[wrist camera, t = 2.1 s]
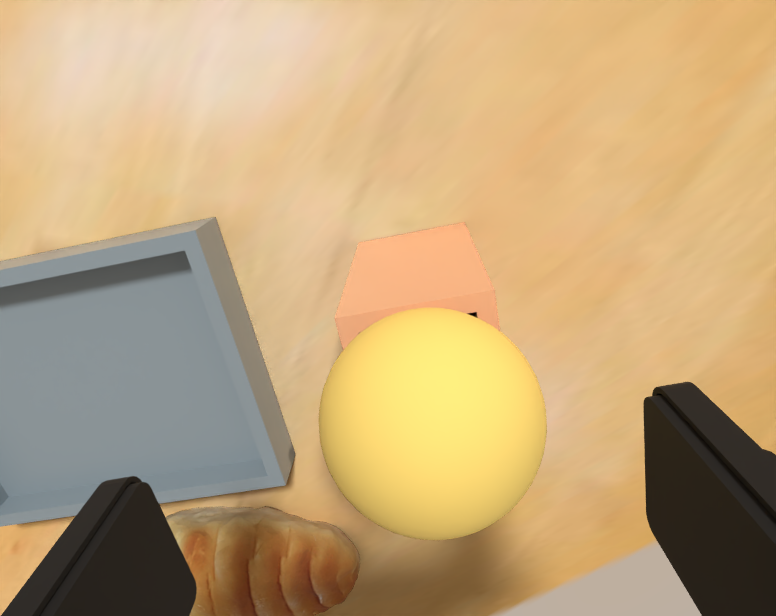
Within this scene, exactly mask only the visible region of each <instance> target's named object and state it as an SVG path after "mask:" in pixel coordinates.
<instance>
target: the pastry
mask: <svg viewBox="0 0 776 616" xmlns="http://www.w3.org/2000/svg"><path fill="white" fill-rule="evenodd" d="M166 520H167V522H168V524H169V526H170V528H171V530H172V532H173V535H174V537H175V539H176V541H177V543H178V545H179V547H180V549H181V551H182V553H183V555H184V558H185V560H186V562H187V564H188V566H189V568H190V570H191V572H192V574H193V576H194V578H195V581H196V586H197V594H196V599H195V603H194V605H193V608H192V610H191V613H190V616H313V615H316V614H317V613H320V612H325V611H326V610H328V609H329V608H331V607H332V606H334V605H336V604H340V603H342V602H343V601H344V600H345V599H346V597H347V596H348V594H349V593H350V592H351V590H352V589H353V587H354V584H355V581H356V580H357V578H358V572H359V568H360V557H359V553H358V551H357V549H356V547H355V546H354V545H353V543H352V542H351V541H350V540H349V539H348V537H347V536H346V535H345V534H344V533H343V532H342V531H341V530H340V529H338V528H337V527H335V526H333V525H330V524H328V523H326V522H320V521H310V520H306V519H303V518H300V517H298V516H295V515H290V514H287V513H284V512H282V511H280V510H278V509H275V508H271V507H262V508H260V509H253V508H246V507H245V508H232V507H204V508H199V507H198V508H192V509H188V510H182V511H179V512H177V513H174V514H171V515H169V516H167V517H166Z"/></svg>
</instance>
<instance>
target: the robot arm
mask: <svg viewBox="0 0 776 616" xmlns="http://www.w3.org/2000/svg"><path fill="white" fill-rule="evenodd" d="M644 441H645V482H646V514H647V519H648V522H649V526H650V528H651V530H652V532H653V534H654V536H655V538H656V539H657V541H658V543H659V544H660V546H661V548H662V549H663V551H664V553H665V554H666V556H667V558H668V559H669V561H670V563H671V565H672V566H673V568H674V569H675V571H676V573H677V575H678V576H679V578H680V580H681V581H682V583H683V584H684V586H685V588H686V589H687V591H688V593H689V595H690V596H691V598H692V599H693V601H694V603H695V604H696V606H697V608H698V610H699V611H700V613H701V614H702V616H776V455H775V454H773V453H772V452H770V451H767V450H764V449H762V448H761V447H760V446H759V445H757V444H756V443H755V442H754V441H753V440H752V439H751V438H750V437H749V436H748V435H747V434H746V433H745V432H744V431H743V430H742V429H741V428H740V427H739V426H737V425H736V424H735V423H734V422H733V421H732V420H731V419H730V418H729V417H728V416H727V415H726V414H725V413H724V412H723V411H722V410H721V409H720V408H719V407H717V406H716V405H715V404H714V403H713V402H712V401H711V400H710V399H709V398H708V397H707V396H706V395H705V394H704V393H703V392H702V391H701V390H700V389H699V388H697V387H696V386H695V385H694V384H693V383H691V382H684V383H678V384H672V385H666V386H660V387H656V388H655V389H654V390H653V394H652V396H651V397H646V398H645V400H644ZM196 594H197V586H196V581H195V578H194V576H193V574H192V572H191V570H190V568H189V566H188V564H187V562H186V560H185V558H184V555H183V553H182V551H181V549H180V547H179V545H178V543H177V541H176V539H175V537H174V535H173V532H172V530H171V528H170V526H169V524H168V522H167V520H166V518H165V516H164V514H163V512H162V509H161V507H160V505H159V503H158V501H157V499H156V497H155V495H154V493H153V491H152V489H151V487H150V485H149V484H148V483H146V482H142V481H141V479H139V478H138V477H136V476H130V477H124V478H118V479H112V480H107V481H104V482H102V483H101V484H100V485H99V486H98V487H97V489H96V490H95V491H94V493H93V494H92V495H91V497H90V498H89V499H88V501H87V502H86V503H85V505H84V506H83V507H82V509H81V510H80V511H79V513H78V514H77V515H76V517H75V518H74V519H73V521H72V522H71V523H70V525H69V526H68V527H67V529H66V530H65V531H64V533H63V534H62V535H61V537H60V538H59V539H58V540H57V542H56V543H55V544H54V546H53V547H52V548H51V550H50V551H49V552H48V554H47V555H46V556H45V558H44V559H43V560H42V562H41V563H40V564H39V566H38V567H37V568H36V570H35V571H34V572H33V574H32V575H31V576H30V578H29V579H28V580H27V582H26V583H25V584H24V586H23V587H22V588H21V590H20V591H19V592H18V594H17V595H16V596H15V598H14V599H13V600H12V602H11V603H10V604H9V606H8V607H7V608H6V610H5V611H4V612H3V614H2V615H1V616H190V613H191V610H192V608H193V605H194V603H195V599H196Z"/></svg>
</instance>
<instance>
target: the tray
mask: <svg viewBox="0 0 776 616" xmlns="http://www.w3.org/2000/svg"><path fill="white" fill-rule="evenodd" d="M294 457H295V452H294V449H293V446H292V443H291V440H290V437H289V434H288V431H287V428H286V425H285V422H284V419H283V416H282V413H281V410H280V407H279V404H278V401H277V398H276V395H275V392H274V389H273V386H272V383H271V380H270V377H269V374H268V371H267V368H266V365H265V362H264V359H263V356H262V354H261V351H260V348H259V345H258V342H257V339H256V336H255V333H254V330H253V327H252V324H251V321H250V318H249V315H248V312H247V309H246V306H245V303H244V300H243V297H242V294H241V291H240V288H239V285H238V282H237V279H236V276H235V273H234V270H233V267H232V264H231V261H230V259H229V256H228V253H227V250H226V247H225V244H224V241H223V238H222V235H221V232H220V229H219V226H218V223H217V220H216V217H213V218H208V219H203V220H198V221H193V222H189V223H184V224H179V225H174V226H169V227H164V228H159V229H155V230H150V231H145V232H140V233H135V234H130V235H125V236H121V237H116V238H111V239H106V240H101V241H96V242H91V243H87V244H82V245H77V246H72V247H67V248H62V249H57V250H53V251H48V252H43V253H38V254H33V255H28V256H23V257H19V258H14V259H9V260H4V261H0V526H7V525H14V524H21V523H28V522H35V521H42V520H49V519H56V518H63V517H70V516H76V515H77V514H78V513H79V511H80V510H81V509H82V507H83V506H84V505H85V503H86V502H87V501H88V499H89V498H90V497H91V495H92V494H93V493H94V491H95V490H96V489H97V487H98V486H99V485H100V484H101V483H102V482H104V481H107V480H112V479H118V478H124V477H130V476H136V477H138V478H139V479H141V481H142V482H146V483H148V484H149V485H150V487H151V489H152V491H153V493H154V495H155V497H156V499H157V501H158V503H159V504H160V503H167V502H174V501H181V500H188V499H195V498H202V497H209V496H216V495H222V494H229V493H236V492H243V491H250V490H257V489H264V488H271V487H278V486H285V485H286V483H287V480H288V477H289V473H290V470H291V467H292V464H293V460H294Z"/></svg>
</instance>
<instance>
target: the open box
mask: <svg viewBox="0 0 776 616" xmlns="http://www.w3.org/2000/svg"><path fill="white" fill-rule="evenodd" d="M417 308H444V309H452V310H456V311H460V312H463V313H466V314H469V315H471V316H474V317H476V318H479V319H481V320H483V321H485V322H486V323H488V324H490V325H492V326H493V327H495V328H496V329H497V330H499V331H500V326H499V319H498V312H497V305H496V297H495V290H494V288H493V285H492V283H491V281H490V279H489V276H488V274H487V272H486V269H485V267H484V265H483V263H482V260H481V258H480V256H479V254H478V251H477V249H476V247H475V245H474V242H473V240H472V238H471V236H470V233H469V231H468V229H467V227H466V224H465V222H463V223H458V224H453V225H448V226H443V227H438V228H432V229H427V230H422V231H417V232H412V233H407V234H402V235H396V236H391V237H386V238H381V239H376V240H371V241H365V242H360V243H358V246H357V249H356V252H355V256H354V259H353V262H352V265H351V268H350V271H349V274H348V278H347V281H346V284H345V287H344V290H343V293H342V296H341V300H340V303H339V306H338V309H337V312H336V315H335V322H336V325H337V329H338V333H339V336H340V340H341V344H342V348H343V350H344V349H345V348H346V347H347V345H348V344H349V343H350V342H351V341H352V340H353V339H354V338H355V337H356V336H357V335H358V334H359V333H361V332H362V331H363V330H365V329H366V328H368V327H369V326H370V325H372V324H374V323H375V322H377V321H379V320H381V319H383V318H385V317H387V316H390V315H392V314H395V313H398V312H402V311H406V310H410V309H417Z"/></svg>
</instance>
